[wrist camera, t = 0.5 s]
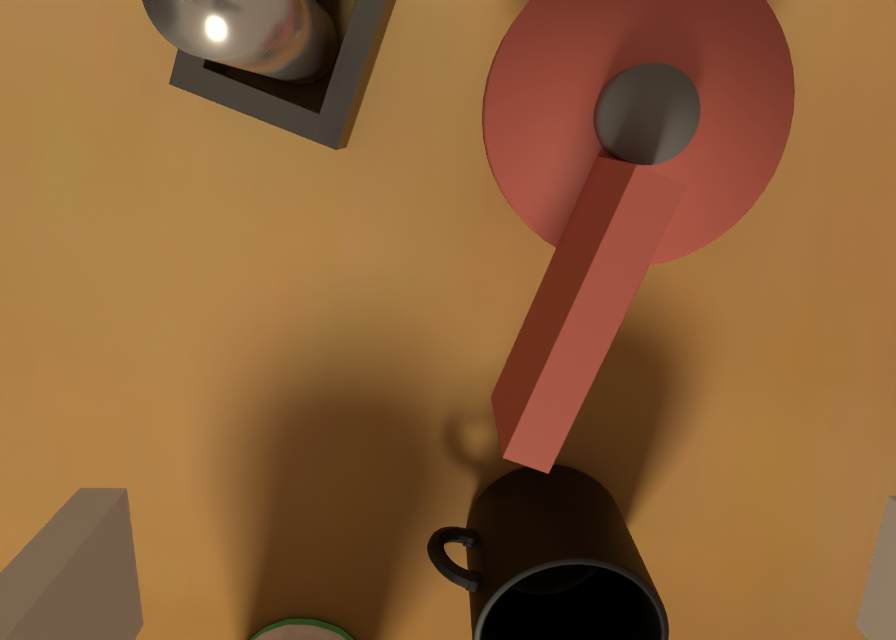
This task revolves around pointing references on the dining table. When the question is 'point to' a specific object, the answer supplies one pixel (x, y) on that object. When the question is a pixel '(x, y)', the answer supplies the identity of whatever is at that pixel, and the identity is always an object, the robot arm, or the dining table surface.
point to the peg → (252, 34)
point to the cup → (301, 631)
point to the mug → (551, 563)
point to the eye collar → (289, 114)
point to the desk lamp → (621, 170)
